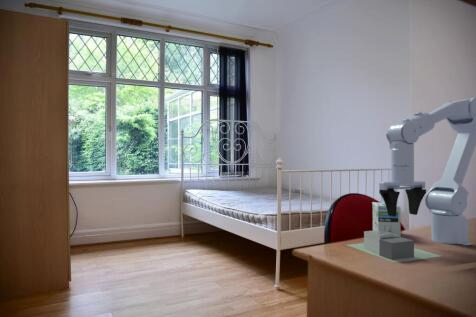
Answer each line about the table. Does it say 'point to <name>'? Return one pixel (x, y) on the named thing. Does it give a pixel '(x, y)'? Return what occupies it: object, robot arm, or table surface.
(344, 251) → the table surface
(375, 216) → the light bulb box
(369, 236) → the pale grey block
